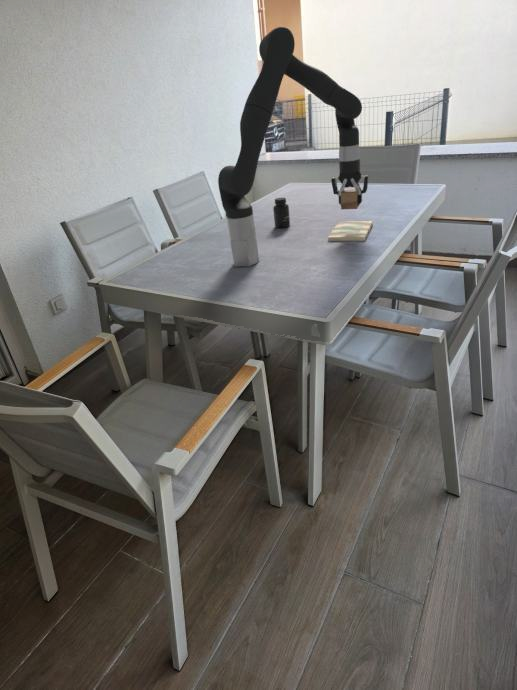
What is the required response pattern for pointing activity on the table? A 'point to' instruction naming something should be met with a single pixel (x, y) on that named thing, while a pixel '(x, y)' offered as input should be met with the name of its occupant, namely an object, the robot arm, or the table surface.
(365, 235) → the birch board
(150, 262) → the table surface
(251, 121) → the robot arm
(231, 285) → the table surface
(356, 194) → the walnut block
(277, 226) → the supplement bottle
